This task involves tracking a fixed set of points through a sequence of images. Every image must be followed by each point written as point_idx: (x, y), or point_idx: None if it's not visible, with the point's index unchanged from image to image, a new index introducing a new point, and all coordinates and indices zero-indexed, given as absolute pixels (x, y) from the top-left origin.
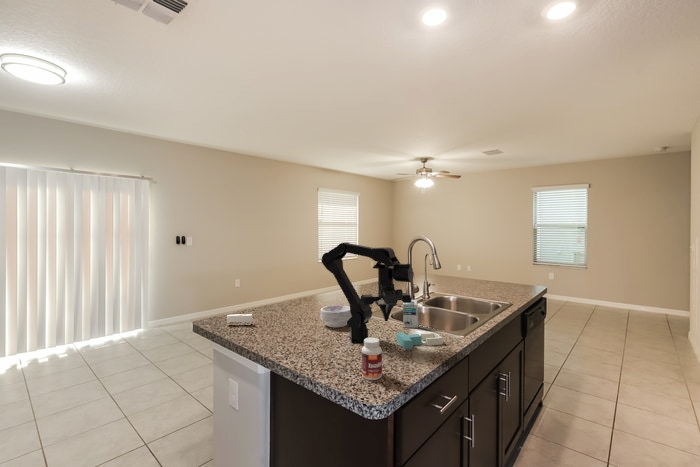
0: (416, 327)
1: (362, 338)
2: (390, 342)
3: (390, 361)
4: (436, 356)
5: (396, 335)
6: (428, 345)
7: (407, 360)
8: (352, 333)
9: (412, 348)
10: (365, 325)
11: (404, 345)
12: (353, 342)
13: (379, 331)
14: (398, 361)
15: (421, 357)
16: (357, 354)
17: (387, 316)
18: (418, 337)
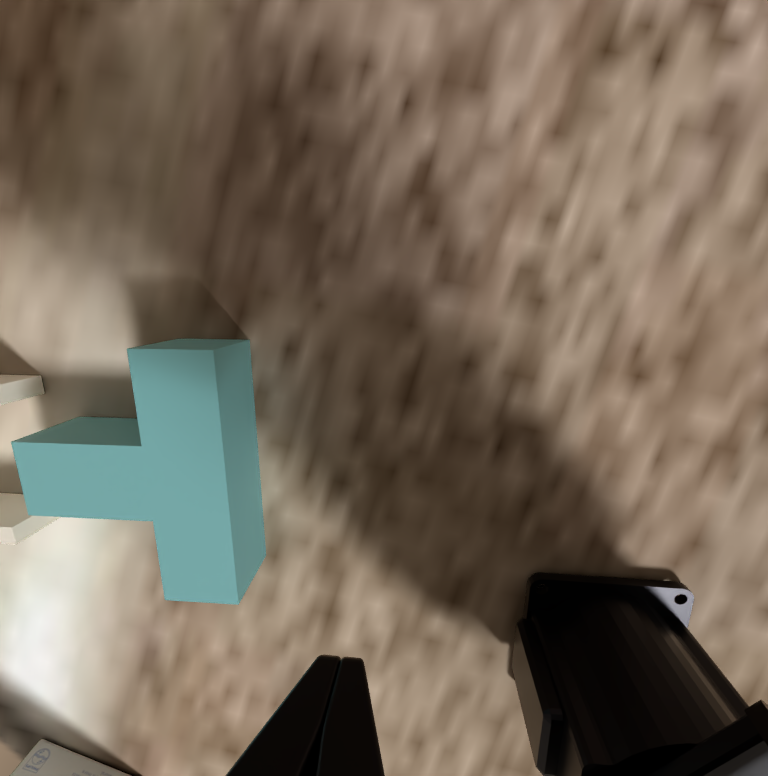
0: (47, 745)
1: (590, 612)
2: (330, 520)
3: (474, 48)
4: (9, 100)
5: (248, 583)
6: (29, 375)
7: (298, 44)
8: (727, 687)
9: (178, 339)
10: (597, 771)
11: (235, 349)
12: (677, 584)
13: None
14: (394, 33)
15: (148, 101)
16: (741, 308)
17: (289, 757)
18: (49, 439)
